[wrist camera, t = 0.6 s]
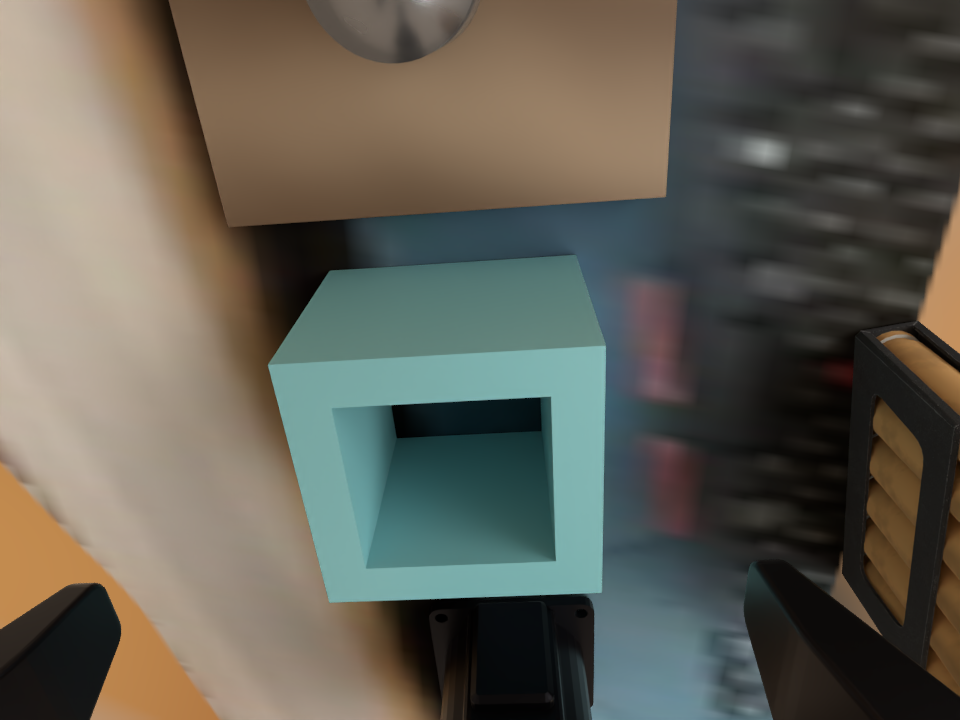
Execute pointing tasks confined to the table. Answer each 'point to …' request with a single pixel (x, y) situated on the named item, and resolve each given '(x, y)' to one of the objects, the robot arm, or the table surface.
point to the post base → (428, 103)
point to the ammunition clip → (906, 493)
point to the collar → (448, 459)
